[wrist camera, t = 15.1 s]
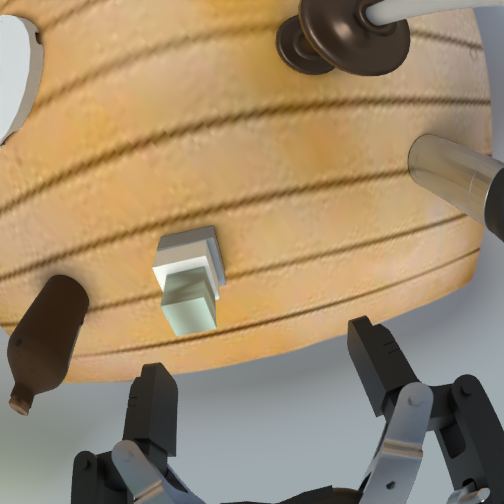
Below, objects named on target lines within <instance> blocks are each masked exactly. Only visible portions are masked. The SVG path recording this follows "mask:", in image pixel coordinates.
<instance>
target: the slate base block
mask: <svg viewBox="0 0 504 504" xmlns="http://www.w3.org/2000/svg"><path fill="white" fill-rule="evenodd" d="M204 240H206V241H207V245H208V248H209V251H210V255H211V258H212V261H213V264H214V268H215V271H216V274H217V277H218V281H219V286H221V285H226V278H225V269H224V265H223V262H222V258H221V254H220V250H219V246H218V242H217V238H216V234H215V230H214V226H208V227H203V228H199V229H194V230H190V231H185V232H181V233H176V234H172V235H168V236H163V237H161V238H160V241H159V244H158V248H157V251H161V250H166V249H170V248H174V247H178V246H182V245H187V244H191V243H195V242H199V241H204Z"/></svg>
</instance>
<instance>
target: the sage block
mask: <svg viewBox="0 0 504 504" xmlns="http://www.w3.org/2000/svg"><path fill="white" fill-rule="evenodd" d="M161 308H162V310H163V312H164V314H165V316H166V318H167V319H168V321H169V323H170V325H171V327H172V329H173V331H174V332H175V334H176V336H181V335H187V334H192V333H197V332H203V331H208V330H213V329H217V328H216V308H215V295H214V292H213V289H212V287H211V284H210V281H209V278H208V275H207V272H206V269H205V267H204V266H202V267H198V268H194V269H189V270H185V271H181V272H176V273H172V274H168V275H167V276H166V281H165V286H164V291H163V296H162V301H161Z"/></svg>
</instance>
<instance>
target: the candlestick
mask: <svg viewBox="0 0 504 504" xmlns="http://www.w3.org/2000/svg"><path fill="white" fill-rule="evenodd" d="M484 6H485V7H486V6H504V0H300V3H299V7H298V10H299V15H297V16H294V17H291V18H289V19H288V20H287V21H285V22H284V23H283V24H282V25H281V27H280V28H279V30H278V32H277V35H276V48H277V51H278V53H279V55H280V57H281V58H282V60H283V61H284V62H285V63H286V64H287V65H288V66H289V67H291V68H292V69H293V70H295V71H298V72H300V73H303V74H307V75H319V74H323V73H327V72H329V71H331V70H333V69H334V68H335V67H337V68H338V69H340V70H342V71H345V72H347V73H350V74H354V75H359V76H380V75H385V74H388V73H390V72H392V71H394V70H396V69H397V68H398V67H399V66H400V65H401V64H402V63H403V62H404V60H405V59H406V57H407V54H408V52H409V47H410V30H409V26H408V22H407V20H406V19H407V18H411V17H416V16H420V15H425V14H430V13H436V12H441V11H448V10H455V9H463V8H473V7H484Z"/></svg>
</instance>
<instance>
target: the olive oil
mask: <svg viewBox="0 0 504 504" xmlns="http://www.w3.org/2000/svg"><path fill="white" fill-rule="evenodd" d="M88 306H89V300H88V296H87V294H86V292H85V290H84V289H83V288H82V287H81V285H80V284H78V283H77V282H76V281H75V280H73V279H71V278H69V277H67V276H63V275H56V276H53V277H51V278H50V279H49V280H48V282H47V283H46V284H45V286H44V287H43V289H42V290H41V292H40V293H39V295H38V296H37V297H36V299H35V300H34V302H33V303H32V305H31V306H30V307H29V309H28V310H27V312H26V313H25V315H24V316H23V318H22V319H21V321H20V322H19V324H18V325H17V327H16V328H15V330H14V332H13V333H12V335H11V337H10V339H9V343H8V349H7V357H8V362H9V365H10V368H11V371H12V374H13V377H14V380H15V386H14V388H13V390H12V393H11V399H10V401H9V405H10V407H11V408H12V409H14V410H15V411H16V412H18V413H20V414H22V415H26V416H27V415H28V412H29V409H30V408H31V405H32V402H33V398H34V396H35V395H36V394H39V393H43V392H46V391H49V390H52V389H55V388H56V387H58V386H59V385H60V384H61V382H62V381H63V380H64V378H65V376H66V374H67V372H68V368H69V364H70V360H71V357H72V353H73V350H74V347H75V343H76V340H77V337H78V334H79V331H80V328H81V326H82V324H83V322H84V321H83V320H84V317H85V314H86V312H87V309H88Z"/></svg>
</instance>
